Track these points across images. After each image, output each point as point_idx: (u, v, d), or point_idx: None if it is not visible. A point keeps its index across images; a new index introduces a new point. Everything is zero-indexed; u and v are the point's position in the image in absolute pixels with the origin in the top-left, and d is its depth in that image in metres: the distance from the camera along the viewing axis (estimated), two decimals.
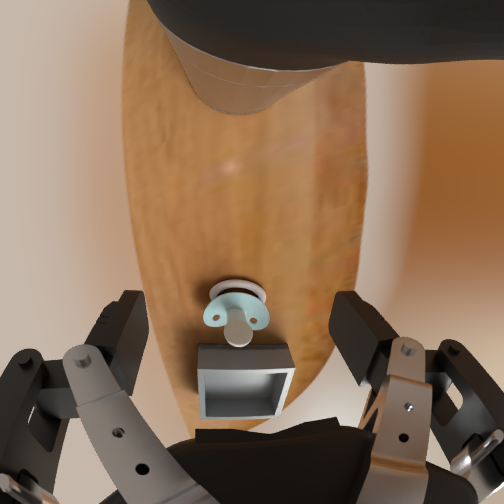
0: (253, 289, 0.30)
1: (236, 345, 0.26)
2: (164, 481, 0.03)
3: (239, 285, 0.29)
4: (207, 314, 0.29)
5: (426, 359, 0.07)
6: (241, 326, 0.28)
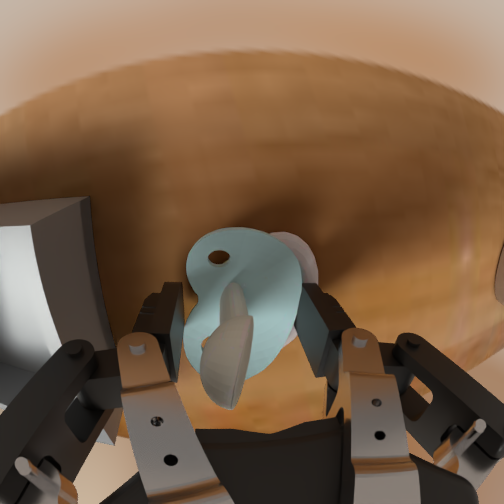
0: (293, 330, 0.13)
1: (226, 392, 0.07)
2: (188, 475, 0.03)
3: None
4: (244, 238, 0.09)
5: (382, 352, 0.08)
6: None
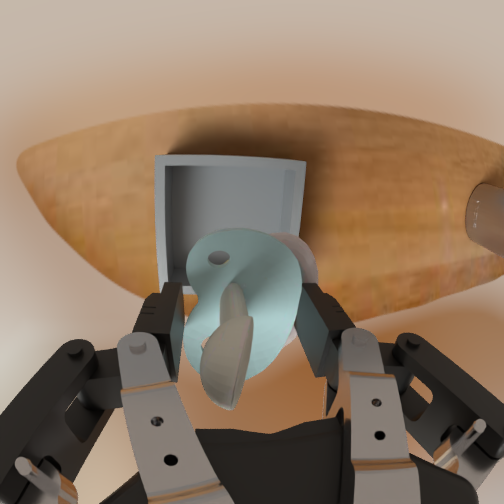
0: (293, 330, 0.13)
1: (226, 393, 0.07)
2: (188, 475, 0.03)
3: None
4: (244, 239, 0.09)
5: (382, 352, 0.08)
6: None
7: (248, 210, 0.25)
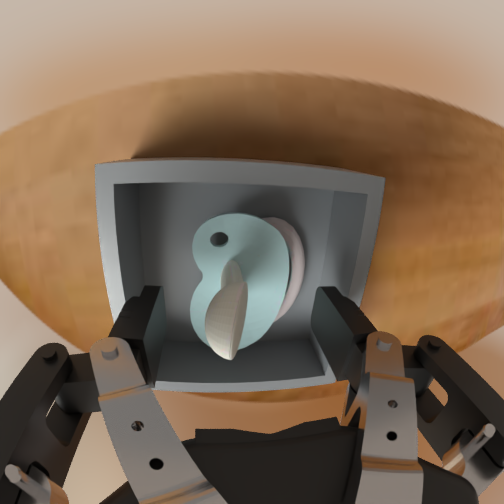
0: (284, 303, 0.15)
1: (225, 339, 0.09)
2: (176, 478, 0.03)
3: (295, 278, 0.14)
4: (239, 221, 0.12)
5: (404, 355, 0.07)
6: None
7: None
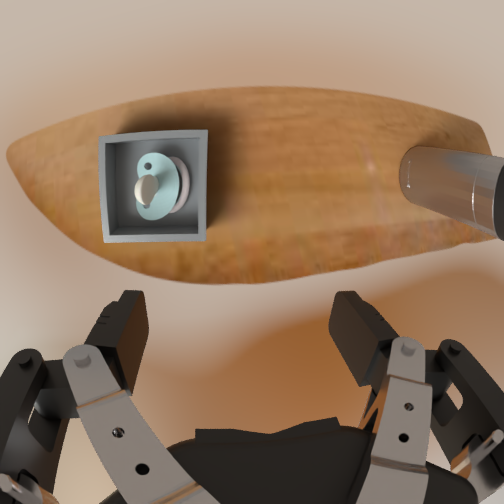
0: (181, 198, 0.29)
1: (139, 189, 0.23)
2: (163, 481, 0.03)
3: (184, 184, 0.29)
4: (154, 156, 0.26)
5: (426, 359, 0.07)
6: (152, 191, 0.25)
7: None
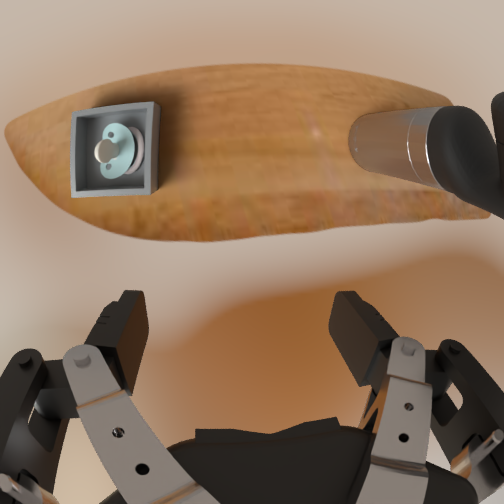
0: (136, 161, 0.32)
1: (97, 149, 0.26)
2: (164, 481, 0.03)
3: (139, 149, 0.31)
4: (115, 126, 0.29)
5: (426, 359, 0.07)
6: (109, 153, 0.28)
7: None
